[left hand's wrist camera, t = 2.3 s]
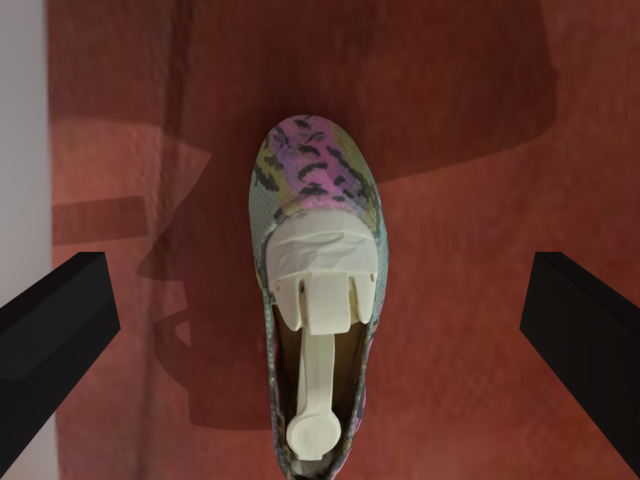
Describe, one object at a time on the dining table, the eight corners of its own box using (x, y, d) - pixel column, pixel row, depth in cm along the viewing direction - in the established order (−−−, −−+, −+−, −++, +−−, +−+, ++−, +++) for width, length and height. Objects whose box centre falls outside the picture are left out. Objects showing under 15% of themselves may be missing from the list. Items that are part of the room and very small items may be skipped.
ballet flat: (392, 112, 24) (429, 129, 16) (371, 427, 33) (387, 539, 25) (249, 112, 24) (213, 128, 16) (267, 426, 33) (250, 539, 25)
